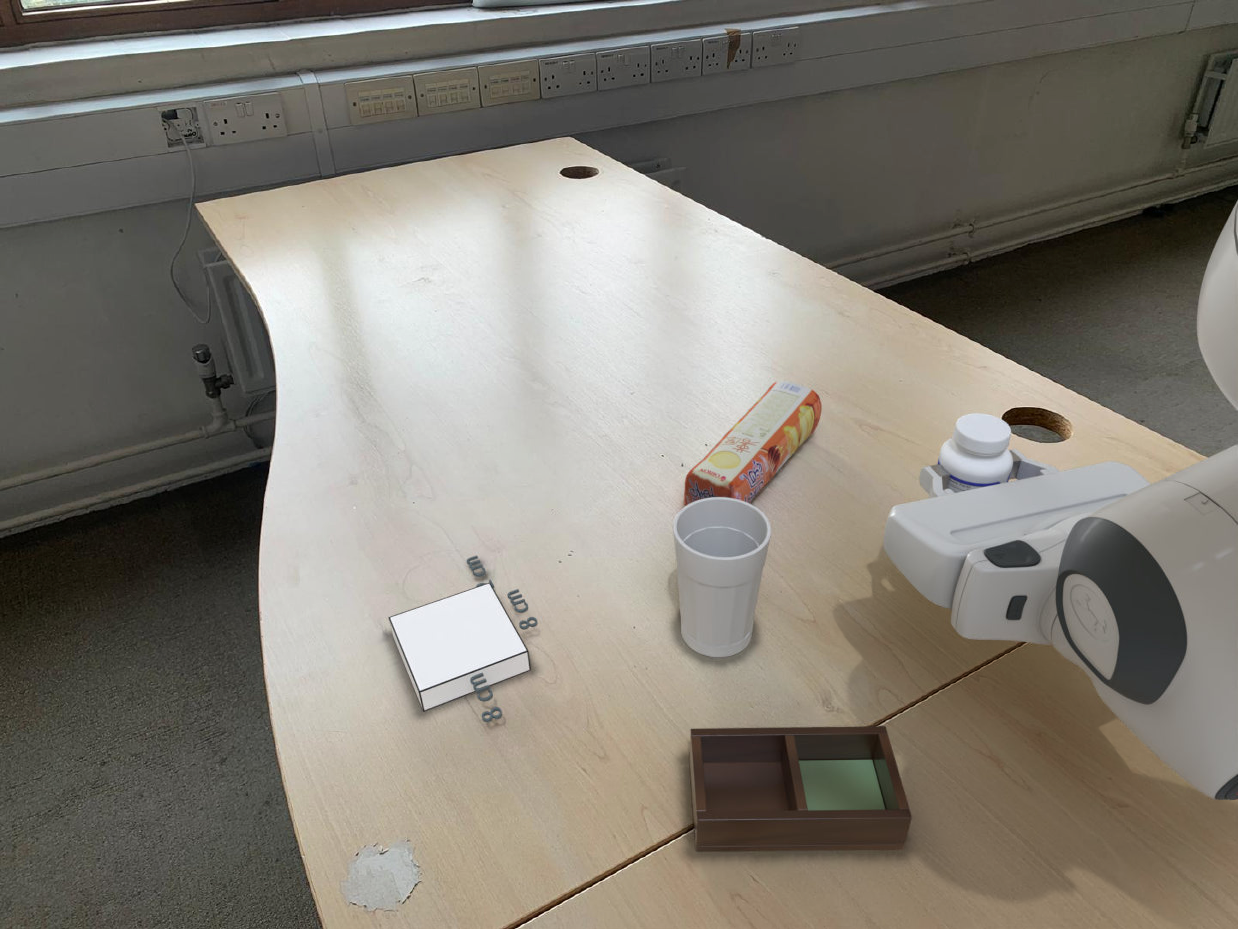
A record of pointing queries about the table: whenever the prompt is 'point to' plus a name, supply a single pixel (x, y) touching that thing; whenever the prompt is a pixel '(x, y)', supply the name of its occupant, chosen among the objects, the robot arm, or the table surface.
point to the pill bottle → (977, 453)
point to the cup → (719, 572)
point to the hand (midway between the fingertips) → (965, 464)
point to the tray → (796, 789)
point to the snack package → (756, 445)
